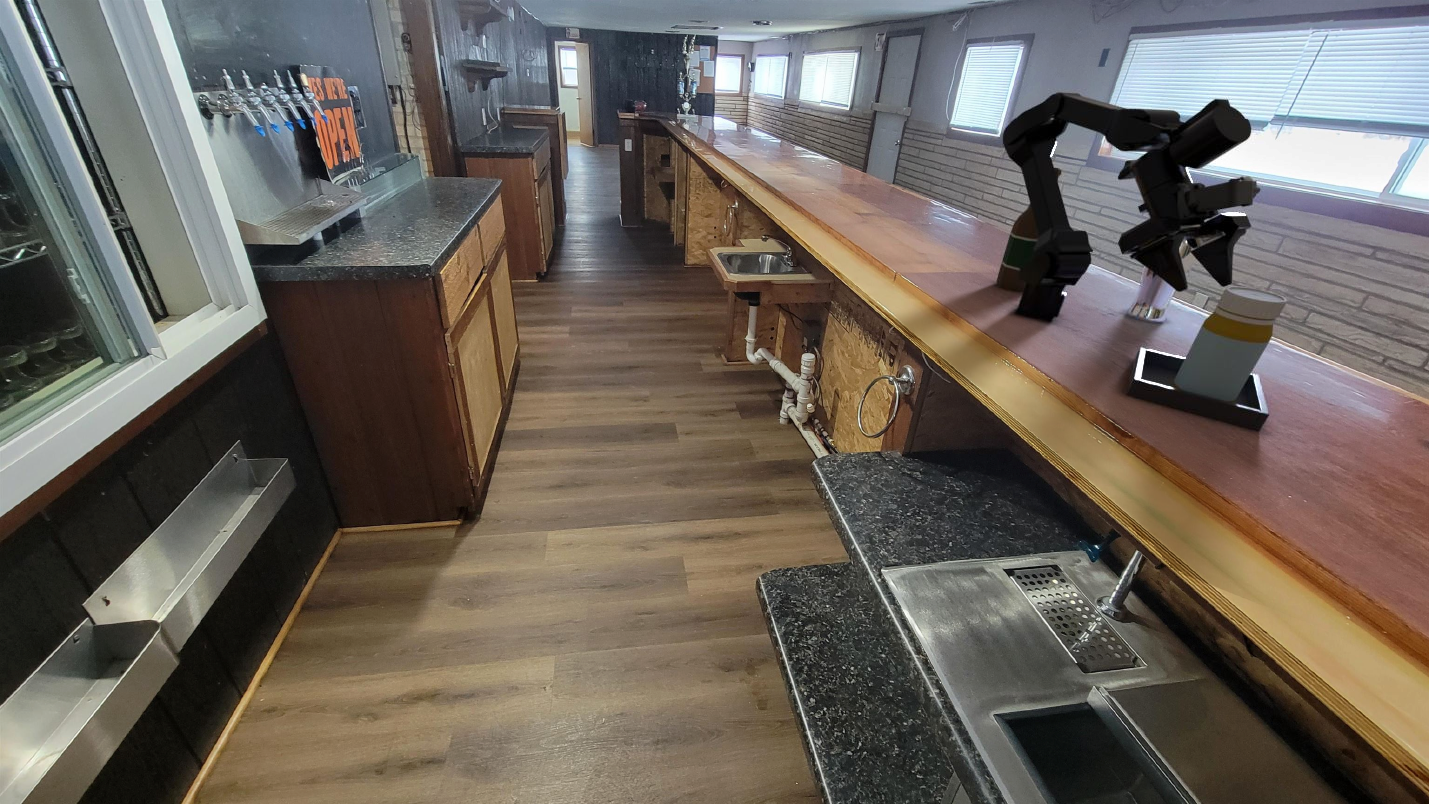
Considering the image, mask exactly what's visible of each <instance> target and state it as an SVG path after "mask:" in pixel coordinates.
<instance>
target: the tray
mask: <svg viewBox="0 0 1429 804" xmlns="http://www.w3.org/2000/svg"><path fill="white" fill-rule="evenodd" d="M1136 353H1137V354H1136V355H1135V358H1134V359H1133V362H1132V363H1133V364H1132V368H1131V373H1130V376H1129V377H1130V378H1129V382H1128V386H1127V392H1126V396H1129V397H1133V398H1137V399H1140V400H1143V401H1148V402H1151V403H1155V404H1159V405H1161V406H1166V407H1170V408H1173V409H1177V410H1181V411H1184V412H1187V413H1191V414H1195V415H1199V416H1202V417H1206V418H1209V419H1213V420H1217V421H1221V422H1224V423H1228V424H1232V425H1235V426H1238V427H1242V428H1247V429H1250V430H1254V431H1257V432H1260V431H1261V430H1262V428H1263V426H1264V425H1265V423H1266V421H1267V419H1268V418H1269V417H1270V412H1269V408H1268V404H1267V401H1266V400H1267V399H1266V396H1265V393H1264V389H1263V388H1264V387H1263V385H1262V379H1261V377H1260V374H1256V373H1252V372H1251V374H1250V376H1249V377H1248V379H1247V381H1246V383H1245V384H1244V386H1243V388H1242V389H1241V391H1240V393H1239V395H1238V396H1237V398H1236V399H1235V401H1234V403H1231V402H1227V401H1223V400H1219V399H1215V398H1211V397H1207V396H1204V395H1200V394H1196V393H1192V392H1188V391H1184V390H1180V389H1177V388H1173V386H1172V384H1173V382H1174V379H1175V378H1176V376H1177V374H1178V372H1179V370H1180V368H1181V366H1182V364H1183V362H1184V360H1185V358H1186V357H1184V356H1180V355H1175V354H1172V353H1167V352H1162V351H1160V350H1159V351H1158V350H1154V349H1150V348H1145V347H1142V346H1140V347H1139V349H1138V351H1137V352H1136Z"/></svg>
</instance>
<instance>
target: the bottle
mask: <svg viewBox="0 0 1429 804" xmlns="http://www.w3.org/2000/svg"><path fill="white" fill-rule="evenodd" d="M1287 303H1288V298H1287V297H1285V296H1283V295H1281V294H1277V293H1275V292H1271V291H1268V290H1263V289H1261V288H1260V289H1259V288H1254V287H1248V286H1239V285H1235V286H1234V285H1231V286H1230V285H1229V286H1226V287H1225V289H1224V290H1223V292H1222V294H1221V295H1220V298H1219V300H1218V302H1217V305H1216V306H1215V308H1214V311H1213V312H1212V313H1210V314H1209V316H1208V317H1207V318H1206V319H1204V321H1203V323H1202V325H1201V327H1200V328H1199V331H1198V332H1197V333H1196V337H1195V338H1194V340H1193V342H1192V343H1191V346H1190V348H1189V350H1188V352H1187V354H1186V356H1185V357H1184V358H1185V360H1184V362H1183V364H1182V366H1181V368H1180V370H1179V372H1178V374H1177V376H1176V378H1175V379H1174V382H1173V384H1172V386H1173V388H1177V389H1180V390H1184V391H1188V392H1192V393H1196V394H1200V395H1204V396H1207V397H1211V398H1215V399H1219V400H1223V401H1227V402H1231V403H1234V401H1235V399H1236V398H1237V396H1238V395H1239V393H1240V391H1241V389H1242V388H1243V386H1244V384H1245V383H1246V381H1247V379H1248V377H1249V376H1250V374H1251V373H1252V372H1253V370H1254V369H1255V367H1256V365H1257V363H1258V362H1259V361H1260V358H1261V356H1262V355H1263V353H1264V351H1265V350H1266V349H1267V347H1268V345H1269V343H1270V341H1271V340H1272V337H1273V331H1274V325H1275V323H1276V321H1277V320H1278V317H1280V316H1281V314H1282V312H1283V310H1284V309H1285V307H1286V305H1287Z"/></svg>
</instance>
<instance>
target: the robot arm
mask: <svg viewBox="0 0 1429 804" xmlns="http://www.w3.org/2000/svg"><path fill="white" fill-rule="evenodd" d="M1070 124H1071V125H1076V126H1078V127H1081V128H1084V129H1087V130H1089V131H1093V132H1095V133H1099V134H1101V135H1102V136H1103V137H1104V138H1105V141H1106V142H1107V143H1108V144H1109V145H1111V146H1112V147H1114V148H1115V149H1117V150H1118V151H1120V152H1126V153H1127V152H1130V153H1131V152H1132V153H1144V154H1143V155H1141V156H1139V158H1137V159H1130V160H1128V159H1127V160H1125V162H1124V165H1123V167H1122V169H1121V170H1120V172H1119V174H1118V176H1117V180H1119V181H1125V180H1135V184H1136V186H1137V187H1138V188H1137V189H1138V192H1139V193H1140V196H1141V198H1142V202H1143V203H1142V204H1140V205H1138V206H1137V209H1138V211H1139V213H1140V214H1145V213H1147V214H1148V217H1149V218H1148V219H1146V220H1144V221H1142V222H1141V223H1139V224H1137V225H1135V226H1133V227H1132V228H1130V229H1128V230H1126V231H1124V232H1123V233H1121V235H1120V236H1119V239H1118V241H1117V245H1118V247H1119V250H1120V252H1121V255H1129V258H1130V259H1131V260H1135V261H1137V262H1138V263H1140V264H1141V265H1142V266H1143V267H1144V266H1145V267H1147V268H1148V269H1150V270H1151V271H1152V272H1154V273H1155V274H1156V275H1158V276H1159V277H1160V278H1161V279H1163V280H1164V281H1165V282H1166V283H1168V284H1169V285H1170V286H1171V287H1173V288H1174V289H1175V290H1176V291H1177V292H1178V293H1180V292H1185V291H1187V290H1188V288H1189V287H1188V281H1187V277H1186V275H1185V271H1184V268H1183V264H1182V260H1181V256H1180V253H1179V249H1180V247H1181V244H1182V242H1183V239H1186V241H1187V243H1188V245H1189V246H1190V247H1192V248H1193V249H1194V250H1192V251H1190V252H1191V253H1192V255H1193V256H1194V257H1195V258H1196V260H1197V262H1198V263H1199V264H1200V265H1201V266H1202V267H1203V268H1204V269H1205V270H1206V272H1207V273H1208V274H1209V275H1210V277H1212V278H1213V279H1214V280H1215V282H1217V284H1219V286H1220V287H1222V288H1227V287H1229V286H1230V285H1231V286H1232V284H1233V263H1234V262H1233V261H1234V259H1233V258H1234V250H1235V246H1236V244H1237V243H1238V241H1239V240H1240V238H1241V237H1243V236H1245V235H1246V233H1247V230H1249V229H1251V228H1252V225H1251V222H1250V219H1249V217H1248V215H1247V214H1245V213H1241V212H1240V213H1239V212H1225V213H1220V212H1219V211H1220V210H1226V209H1231V208H1236V207H1242V208H1245V207H1250V206H1253V204H1254V198H1256V197H1257V194H1259V193H1260V192H1261V187H1260V186H1258V184H1257V183H1258V182H1257V180H1254V179H1253V177H1252V176H1251V175H1242V176H1240V177H1238V178H1236V177H1235V178H1230V179H1229V180H1228V181H1225V182H1221V183H1216V184H1212V185H1208V186H1207V185H1205V184H1204V183H1201V182H1193V180H1192V178H1191V175H1190V173H1189V170H1188V168H1190V169H1193V170H1199V169H1202V168H1204V167H1206V166H1207V165H1209V164H1211V163H1212V162H1213V161H1215V160H1217V159H1219V158H1220V157H1222V156H1223V155H1225V154H1227V153H1228V152H1230V151H1231V150H1233V149H1235V148H1236V147H1237V146H1240V145H1241V144H1242V143H1244V142H1246V141H1247V140H1249V138H1250V137H1251V135H1252V125H1251V122H1250V120H1249V118H1246V116H1244V115H1243V113H1242V112H1240V111H1239V110H1238V109H1237V108H1235V107H1233V106H1231V104H1230V100H1229V99H1227V98H1214V99H1213V100H1211V101H1210V102H1208V103H1207V104H1206V105H1205V106H1204V107H1203V108H1202V109H1201V110H1200V111H1198V112H1196V113H1195V114H1194V115H1192V116H1191V117H1189V118H1188V119H1187V120H1186V121H1182V120H1181V115H1180V113H1179V112H1178V111H1176V110H1173V109H1172V110H1171V109H1157V108H1155V109H1154V108H1127V107H1122V106H1119V105H1115V104H1111V103H1108V102H1105V101H1101V100H1097V99H1093V98H1090V97H1086V96H1083V95H1081V94H1080V93H1078V92H1063V91H1062V92H1061V91H1060V92H1055V93H1053V94H1051V95H1049V96H1048V97H1047V98H1046V99H1045V100H1043V101H1042V102H1041V103H1039V104H1036V105H1035V106H1033V107H1031V108H1028V109H1026V110H1024V111H1023V112H1021V113H1020V114H1019V115H1018V116H1017V117H1015V118H1013V119H1012V120H1011V121H1010V122H1009V123H1008V125H1006V127H1005V129H1004V130H1003V133H1002V144H1003V148H1004V150H1005V152H1006V154H1007V156H1008V158H1009V159H1010V160H1011V161H1012V162H1013V163H1014V164H1015V165H1016V166H1018V167H1019V168H1020V170H1021V173H1022V177H1023V180H1024V185H1025V189H1026V193H1027V196H1028V201H1029V204H1031V208H1032V212H1033V216H1034V220H1035V224H1036V228H1037V232H1038V240H1037V242H1036V245H1035V247H1034V250H1033V257H1034V258H1033V259H1032V260H1030V261H1029V262H1027V263H1026V264H1025V265H1023V266H1022V267H1020V270H1019V279H1020V280H1022V281H1024V282H1026V284H1025V287H1024V290H1023V292H1021V293H1022V294H1021V297H1020V299H1019V302H1018V306H1017V308H1016V309H1015V310H1014V314H1015V315H1018V316H1023V317H1027V318H1030V319H1031V318H1032V319H1036V320H1040V321H1044V322H1048V323H1052V322H1053V321H1054V320H1055V319H1056V318H1058V317H1059V315H1060V313H1061V311H1062V308H1063V306H1064V303H1065V300H1066V297H1067V292H1065V290H1066V287H1067V286H1076V285H1077V284H1078V282H1079V281H1080V280H1081V278H1082V276H1084V275H1085V273H1086V272H1087V271H1088V269H1089V267H1090V265H1091V264H1092V255H1091V253H1093V252H1094V249H1093V248H1092V247H1091V244H1090V239H1089V234H1088V233H1087V231H1086V230H1074V229H1073V228H1072V226H1071V225H1070V222H1069V219H1068V214H1067V211H1066V207H1065V203H1064V200H1063V196H1062V191H1061V188H1060V185H1059V182H1058V181H1059V180H1058V181H1057V177H1056V174H1055V170H1054V168H1055V166H1054V163H1053V159H1052V156H1053V154H1054V151H1055V149H1056V146H1057V143H1058V142H1057V138H1059V137H1060V136H1061V135H1063V134H1064V133H1065V132H1066V130H1067V129H1068V126H1069V125H1070Z"/></svg>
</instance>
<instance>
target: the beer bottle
mask: <svg viewBox="0 0 1429 804" xmlns="http://www.w3.org/2000/svg"><path fill="white" fill-rule="evenodd" d="M1054 170H1055V174H1056V177H1057V181H1059V177H1060V176H1062V169H1061V168H1059V167H1054ZM1037 240H1038V232H1037V228H1036V224H1035V220H1034V216H1033V212H1032V208H1031V204H1030V203H1029V204H1028V206H1027V208H1026V209H1025V210H1024V211H1022V212H1021V214H1020V215H1019V216H1018V217H1017V219H1016V220H1015V221H1014V223H1013V225H1012V227H1011V230H1010V233H1009V236H1008V240H1007V243H1006V247H1005V250H1004V252H1003V257H1002V261H1001V262H1000V263H1001V264H1000V267H999V270H998V274H997V278H996V284H997V285H998V286H999V288H1001V289H1006V290H1008V291H1012V292H1021V293H1023V290H1024V287H1025V284H1026V282H1024V281H1022V280H1020V279H1019V270H1020V267H1022V266H1023V265H1025V264H1026V263H1027V262H1029V261H1030V260H1032V259H1033V258H1034V257H1033V250H1034V247H1035V245H1036V242H1037Z"/></svg>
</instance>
